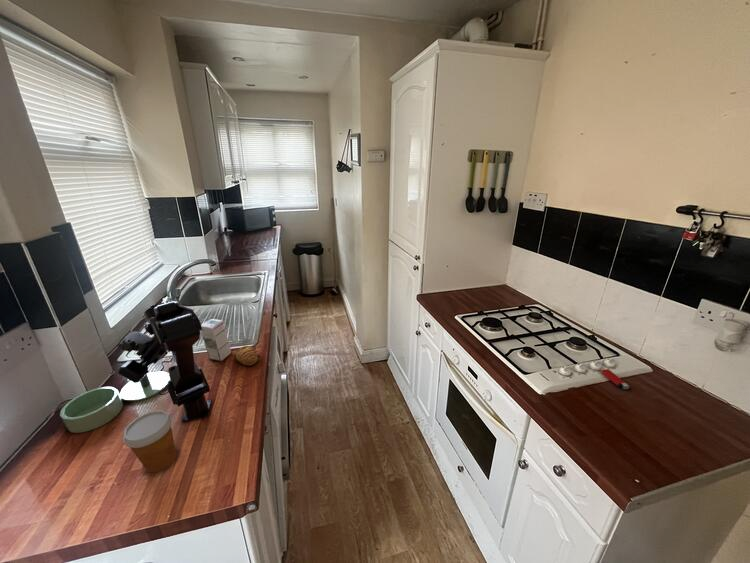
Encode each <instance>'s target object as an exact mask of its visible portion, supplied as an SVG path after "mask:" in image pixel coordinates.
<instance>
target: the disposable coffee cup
mask: <svg viewBox="0 0 750 563" xmlns="http://www.w3.org/2000/svg"><path fill="white" fill-rule="evenodd" d="M172 422H173V418H172V416H171V414H169V413H167V411H165V410H152V411H148V412H145V413H143V414H141V415H139V416H138V417H136V418H134V419H133V420H132V421H130V422H129V423H128V425H127V426H126V427H125V429H124V431H123V436H122V442H123V444H124V445H125V446H127V447H129V448H130V449H131V451H132V453H133V454H134V455H135V456H136V458H137V459H138V461H139V462H140V463H141V465H142V466H143V467H144V469H145V470H146V472H148V473H152V474H155V473H159V472H161V471H164V470H165V469H167V468H168V467H170V466H171V465H172V463H174V461H175V460H176V458H177V451H176V446H175V440H174V434H173V426H172V424H173V423H172Z"/></svg>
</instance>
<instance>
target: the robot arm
mask: <svg viewBox="0 0 750 563" xmlns="http://www.w3.org/2000/svg"><path fill="white" fill-rule="evenodd" d="M143 315H144V318H145V319H146V322H144V324H143V328H144V330H145V332H146V333H148V334H149V335H148V334H145V333H142V332H139V331H132V332H130V333H129V334H128V335H127V336H125V337H124V338H123V340H122V342H121V343H120V344H119V345H120V349H121V350H122V351H125V352H128V353H131V352H132V351H133V352H136V353H135V355H137V356H138V357H139V359H140V360H141V361H139V362H138V361H136V360H135V359H128V360H127V361H126V362H125V363H123V364H122V365H121V366H120V367H119V368H118V370H117V374H118V375H120V376H122V377H124V378H125V379H127V380H129V382H130V381H132V382H134V383H138V382H139V381H140V380H141V379H142V378H143V377H144V376H145V375H146V374H147V373H150V372H149V366H151V365H152V364H154V365H156V364H157V363H158V362H159V361H160V360H162V359H164V357H166V356H167V355H168V354H169V353H170V352H171V355H172V362H173V366H169V367H168V369H167V371H168V374H169V378H170V380H169V381H168V385H167V386H166V390H167V392H168V395H169V397H170V399H171V402H172V405H174V406H177V407H181V406H182V407H183V410H184V413H183V416H182V419H181V421H182V422H183V423H185V422H190V421H194V420H199V419H204V418H207V417H208V415H209V413H210V407H211V404H212V400H211V399H209V400H207V399H206V395H205V394H208V393H210V392H211V388H210V385H209V383H208V381H207V379H206V376H205V374H204V372H203V370H202V368H201V367H199V366H198V364H197V362H195V356H194V345H195V344H196V343H198V342H199V341H200V339H201V330H202V326H201V325H202V323H201V321H200V318H199V317H198V315H197V314H196V313H195V310H193V309H192V308H188V307H187V306H183V305H181V304H180V303H179V301H178V300H177V301H174V300H173V301H169V302H165V303H163V304H158V303H155V304H151V305H149V308H146V310H145V311H144V312H143ZM151 336H152V337H151Z"/></svg>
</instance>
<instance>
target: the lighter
mask: <svg viewBox="0 0 750 563" xmlns="http://www.w3.org/2000/svg"><path fill="white" fill-rule="evenodd" d="M600 372H601V374H603V376H605V377H606V378H607V379H609V381H611V382H612V383H613V384H614V385H616V386H617V387H618V388H620V389H621V388H622V389H623V390H628V389H630V385H629V384H628V383H626V382H625V381H624V380H622V379H621V378H620V377H619V376H618V375H616V374H615V373H614V372H612V370H610V369H609V368H607V369H602V370H601V371H600Z"/></svg>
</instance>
